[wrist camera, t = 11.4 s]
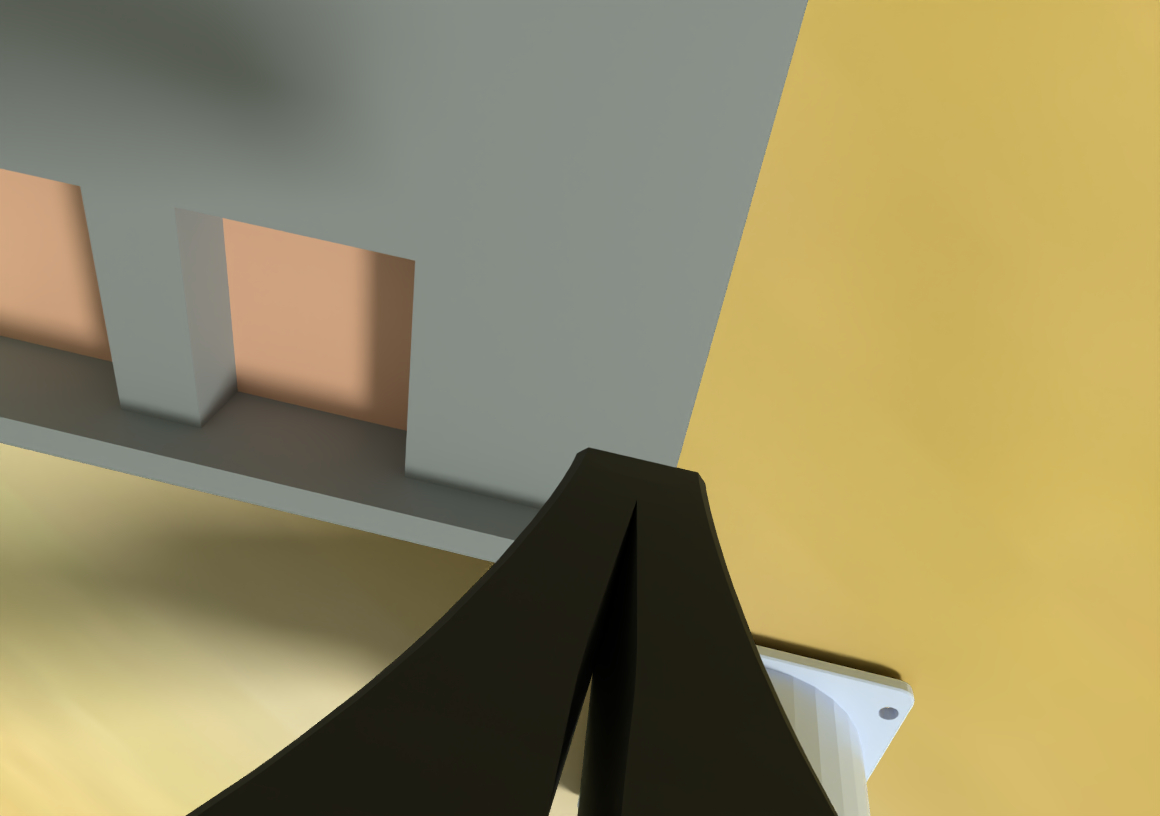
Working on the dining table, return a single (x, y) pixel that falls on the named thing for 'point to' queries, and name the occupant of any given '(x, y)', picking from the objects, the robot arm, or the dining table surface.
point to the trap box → (373, 241)
